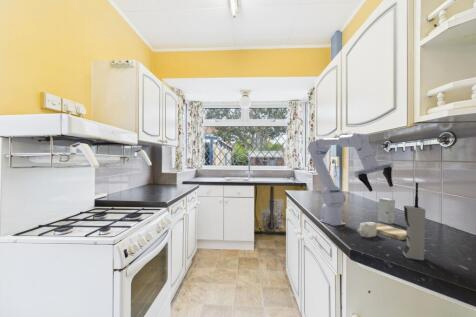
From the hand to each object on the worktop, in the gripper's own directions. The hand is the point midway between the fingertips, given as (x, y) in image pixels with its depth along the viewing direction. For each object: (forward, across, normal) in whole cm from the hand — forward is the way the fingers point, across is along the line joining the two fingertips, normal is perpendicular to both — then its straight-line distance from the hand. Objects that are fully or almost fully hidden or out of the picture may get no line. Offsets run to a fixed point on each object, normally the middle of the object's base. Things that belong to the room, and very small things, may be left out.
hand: (381, 188), depth 95 cm
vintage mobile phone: (+26, -2, -7) cm, 27 cm away
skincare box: (+11, +6, +36) cm, 39 cm away
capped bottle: (+16, -9, +11) cm, 21 cm away
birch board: (+16, +1, +18) cm, 24 cm away
